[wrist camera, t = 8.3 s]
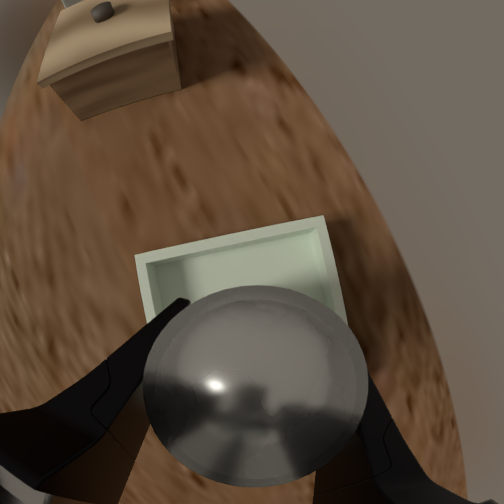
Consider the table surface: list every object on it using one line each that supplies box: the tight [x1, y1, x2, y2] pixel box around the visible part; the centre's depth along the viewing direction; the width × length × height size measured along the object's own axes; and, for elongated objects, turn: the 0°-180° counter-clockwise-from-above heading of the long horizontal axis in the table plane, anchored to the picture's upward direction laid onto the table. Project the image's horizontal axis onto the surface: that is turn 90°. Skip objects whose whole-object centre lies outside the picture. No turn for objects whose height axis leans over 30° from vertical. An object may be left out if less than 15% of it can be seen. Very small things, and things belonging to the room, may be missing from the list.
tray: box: [135, 215, 348, 326], centre depth 17 cm, size 11×11×2 cm
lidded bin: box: [37, 0, 181, 121], centre depth 17 cm, size 10×10×8 cm
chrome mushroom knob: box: [143, 285, 368, 487], centre depth 11 cm, size 5×5×11 cm
